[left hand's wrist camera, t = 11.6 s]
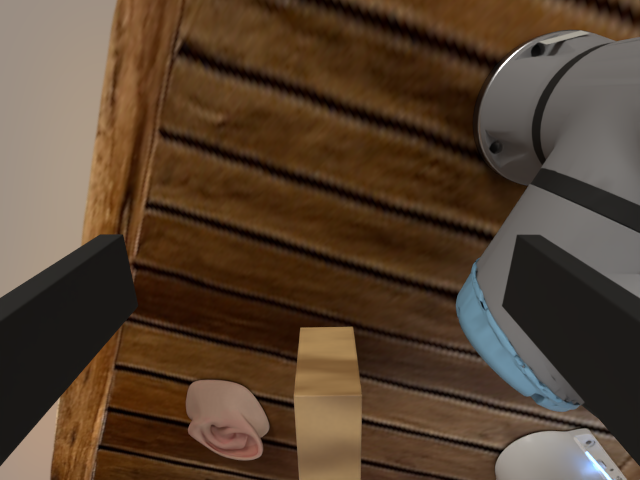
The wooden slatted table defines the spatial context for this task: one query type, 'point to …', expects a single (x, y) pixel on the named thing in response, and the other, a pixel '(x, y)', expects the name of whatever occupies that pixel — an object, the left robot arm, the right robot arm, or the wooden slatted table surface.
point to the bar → (328, 405)
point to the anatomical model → (226, 419)
